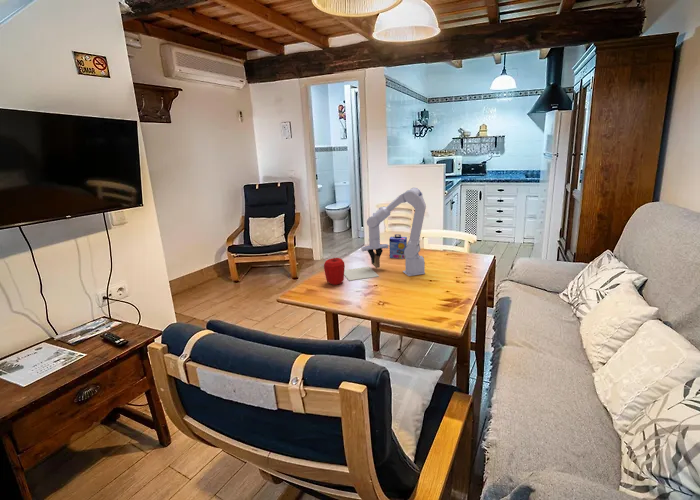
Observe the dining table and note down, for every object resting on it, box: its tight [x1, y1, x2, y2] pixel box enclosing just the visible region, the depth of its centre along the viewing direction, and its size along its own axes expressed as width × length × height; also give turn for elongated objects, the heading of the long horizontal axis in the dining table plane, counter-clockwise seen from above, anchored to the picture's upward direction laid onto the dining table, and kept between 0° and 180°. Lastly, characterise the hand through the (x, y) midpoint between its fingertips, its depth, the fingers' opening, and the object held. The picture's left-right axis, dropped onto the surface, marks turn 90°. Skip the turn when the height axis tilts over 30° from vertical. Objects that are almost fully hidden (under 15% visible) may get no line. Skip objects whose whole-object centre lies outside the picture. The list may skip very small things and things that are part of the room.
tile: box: [371, 252, 381, 269], centre depth 208 cm, size 2×8×6 cm, turn 15°
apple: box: [323, 257, 345, 286], centre depth 191 cm, size 11×10×14 cm
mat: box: [344, 266, 380, 282], centre depth 204 cm, size 16×16×1 cm
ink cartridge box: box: [388, 234, 408, 260], centre depth 227 cm, size 10×6×14 cm, turn 74°
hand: (375, 262), depth 208 cm, fingers closed on tile, 2 cm apart
